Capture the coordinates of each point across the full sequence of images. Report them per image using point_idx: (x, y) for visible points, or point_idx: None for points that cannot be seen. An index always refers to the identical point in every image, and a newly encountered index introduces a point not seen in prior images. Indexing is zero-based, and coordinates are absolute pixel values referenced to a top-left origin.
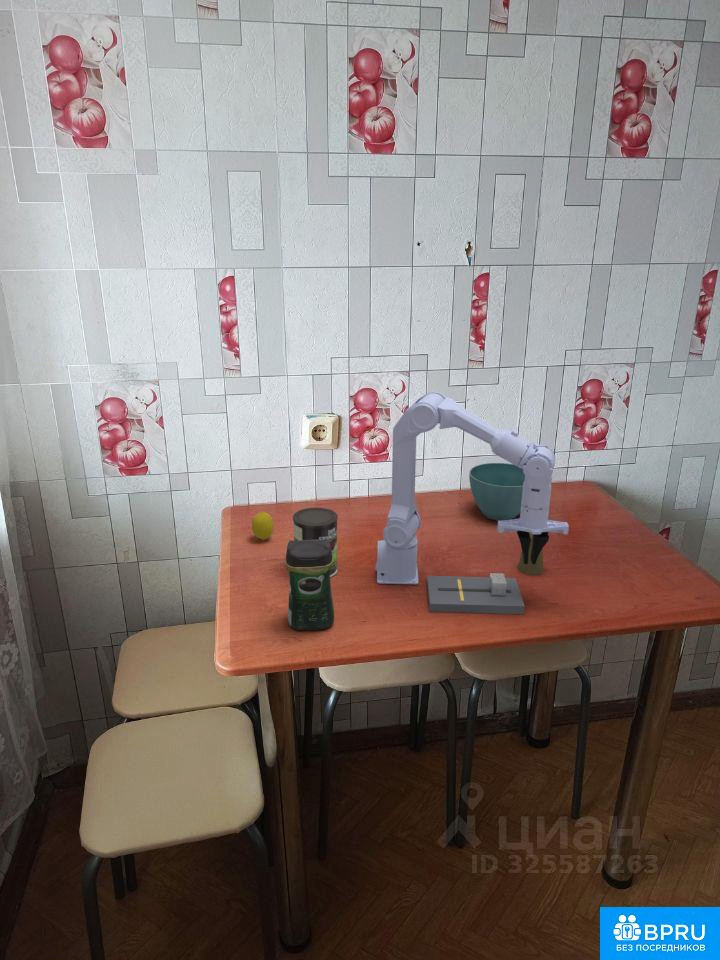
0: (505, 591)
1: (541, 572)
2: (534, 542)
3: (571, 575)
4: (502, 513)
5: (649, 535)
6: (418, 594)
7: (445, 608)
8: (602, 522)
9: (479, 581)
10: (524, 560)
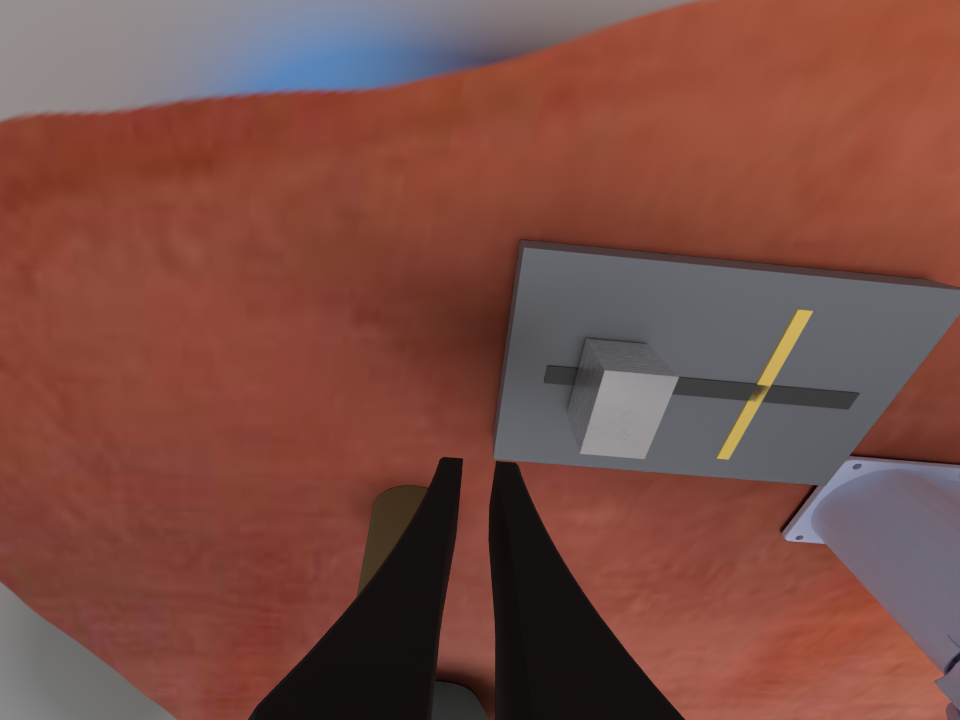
0: (593, 348)
1: (381, 497)
2: (435, 664)
3: (282, 480)
4: (441, 714)
5: (59, 625)
6: None
7: (881, 277)
8: (188, 667)
9: None
10: (524, 483)
